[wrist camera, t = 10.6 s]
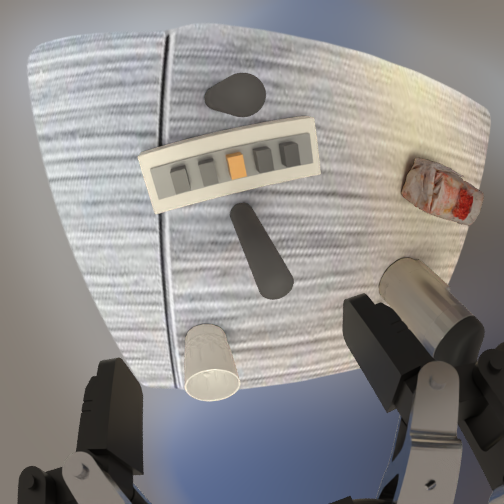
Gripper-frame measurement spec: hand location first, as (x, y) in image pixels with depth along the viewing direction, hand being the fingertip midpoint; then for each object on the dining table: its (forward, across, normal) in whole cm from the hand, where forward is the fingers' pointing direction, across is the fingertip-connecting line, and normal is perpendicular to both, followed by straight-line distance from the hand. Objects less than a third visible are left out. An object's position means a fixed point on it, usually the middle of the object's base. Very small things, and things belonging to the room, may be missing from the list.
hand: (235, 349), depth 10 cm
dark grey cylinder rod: (+28, -4, +8) cm, 30 cm away
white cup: (+29, +6, +27) cm, 40 cm away
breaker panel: (+28, -4, 0) cm, 29 cm away
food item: (+29, -35, +9) cm, 47 cm away
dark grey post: (+28, -4, -8) cm, 30 cm away
